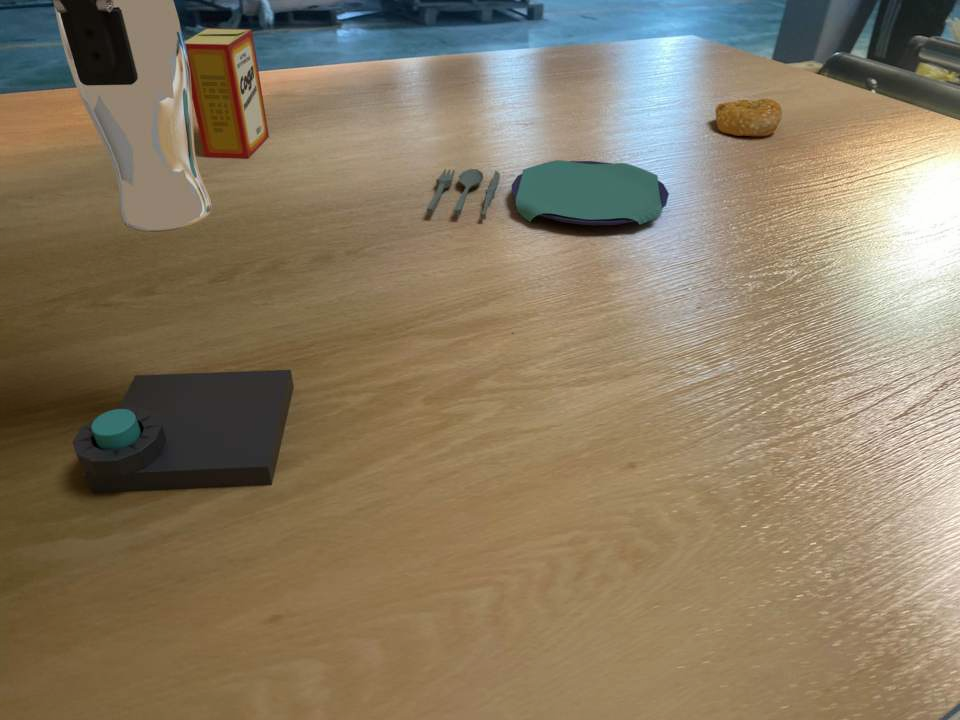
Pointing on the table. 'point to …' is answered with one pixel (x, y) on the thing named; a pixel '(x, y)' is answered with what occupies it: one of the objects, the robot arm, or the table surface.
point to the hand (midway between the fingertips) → (129, 64)
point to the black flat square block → (194, 432)
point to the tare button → (115, 429)
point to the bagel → (749, 117)
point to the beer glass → (150, 122)
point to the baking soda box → (227, 92)
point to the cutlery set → (573, 192)
